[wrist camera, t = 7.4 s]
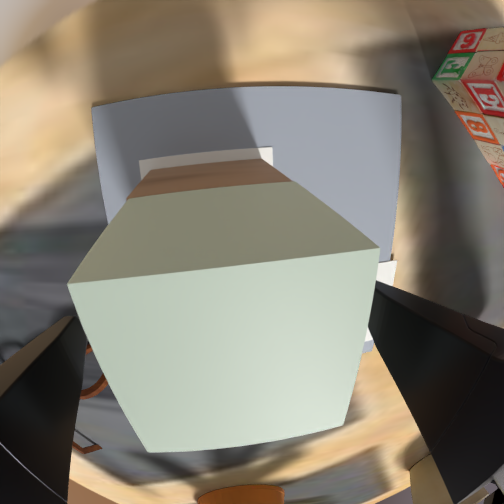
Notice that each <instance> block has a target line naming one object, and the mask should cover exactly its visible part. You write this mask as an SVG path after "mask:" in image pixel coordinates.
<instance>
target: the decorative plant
mask: <svg viewBox="0 0 504 504" xmlns="http://www.w3.org/2000/svg"><path fill="white" fill-rule="evenodd" d="M197 502H198V504H284V490H283V489H282V488H280V487H278V486H273V485H242V486H234V487H228V488H223V489H218V490H215V491H211V492H209V493H206V494H204V495H202V496H201V497H200V498H198V501H197Z"/></svg>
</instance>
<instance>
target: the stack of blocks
mask: <svg viewBox="0 0 504 504" xmlns="http://www.w3.org/2000/svg"><path fill="white" fill-rule="evenodd" d="M432 82H433V83H434V84H435V86H436V87H437V88H438V89H439V91H440V92H441V93H442V94H443V96H444V97H445V98H446V100H447V101H448V102H449V104H450V105H451V106H452V108H453V109H454V111H455V113H456V114H457V116H458V117H459V119H460V120H461V121H462V123H463V124H464V126H465V127H466V129H467V130H468V132H469V133H470V135H471V136H472V138H473V139H474V141H475V142H476V144H477V146H478V147H479V149H480V150H481V152H482V154H483V155H484V157H485V158H486V160H487V162H488V163H490V165H491V167H492V168H493V170H494V172H495V174H496V175H497V177H498V179H499V181H500V183H501V184H502V186H503V187H504V27H496V28H489V29H488V28H483V29H476V30H467V31H462V32H460V34H459V35H458V37H457V39H456V40H455V42H454V44H453V45H452V47H451V49H450V50H449V52H448V55H447V57H446V58H445V60H444V61H443V63H442V64H441V66H440V68H439V69H438V71H437V72H436V74H435V76H434V77H433V78H432Z"/></svg>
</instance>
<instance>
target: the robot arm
mask: <svg viewBox="0 0 504 504" xmlns="http://www.w3.org/2000/svg"><path fill="white" fill-rule="evenodd" d="M368 329H369V331H370V334H371V336H372V338H373V341H374V343H375V345H376V347H377V349H378V351H379V353H380V355H381V357H382V359H383V360H384V362H385V364H386V366H387V368H388V370H389V372H390V373H391V375H392V377H393V379H394V381H395V383H396V385H397V387H398V388H399V390H400V392H401V394H402V396H403V398H404V400H405V402H406V404H407V406H408V408H409V410H410V412H411V414H412V416H413V418H414V420H415V422H416V424H417V426H418V428H419V430H420V432H421V434H422V436H423V438H424V440H425V442H426V444H427V446H428V448H429V450H430V452H431V455H432V457H433V459H434V462H435V464H436V466H437V468H438V470H439V472H440V475H441V477H442V479H443V481H444V484H445V486H446V488H447V490H448V493H449V495H450V497H451V500H452V502H453V504H459V503H460V502H462V501H463V500H465V499H467V498H468V497H470V496H471V495H473V494H474V493H476V492H477V491H478V490H480V489H481V488H483V487H484V486H485V485H487V484H488V483H490V482H491V483H494V484H496V486H497V487H498V489H497V490H496V491H494V492H493V493H492V494H491V495H489V496H488V497H487V498H485V500H484V504H504V329H503V328H500V327H497V326H494V325H491V324H488V323H485V322H483V321H480V320H477V319H475V318H472V317H470V316H467V315H465V314H464V315H463V314H462V313H460V312H457V311H454V310H452V309H449V308H447V307H444V306H442V305H439V304H437V303H434V302H432V301H429V300H426V299H424V298H421V297H419V296H416V295H414V294H411V293H408V292H406V291H403V290H401V289H398V288H395V287H393V286H390V285H388V284H385V283H382V282H380V281H377V280H376V283H375V289H374V295H373V301H372V306H371V312H370V317H369V322H368ZM86 346H87V339H86V335H85V333H84V330H83V328H82V325H81V323H80V320H79V318H78V317H77V316H65V317H63V318H62V319H60V320H59V321H58V322H56V323H55V324H54V325H52V326H51V327H50V328H48V329H47V330H46V331H44V332H43V333H42V334H40V335H39V336H38V337H36V338H35V339H34V340H32V341H31V342H30V343H28V344H27V345H26V346H24V347H23V348H22V349H21V350H19V351H18V352H17V353H15V354H14V355H13V356H12V357H10V358H9V359H8V360H6V361H5V362H4V363H3V364H1V365H0V504H67V499H68V484H69V483H68V482H69V472H70V462H71V453H72V445H73V437H74V430H75V423H76V417H77V411H78V405H79V400H80V394H81V389H82V383H83V374H84V364H85V355H86Z"/></svg>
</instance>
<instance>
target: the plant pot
mask: <svg viewBox="0 0 504 504" xmlns="http://www.w3.org/2000/svg"><path fill="white" fill-rule="evenodd" d="M410 483H411V493H412V500H413V504H453V502H452V500H451V497H450V495H449V493H448V490H447V488H446V486H445V484H444V481H443V479H442V477H441V475H440V472H439V470H438V468H437V466H436V464H435V462H434V459H433V457H432V455H431V454H430V455H428V456H427V457H425V458H424V459H422V460H421V461H419V462H418V463H417V464H415V465H414V466H413V467H412V468H411V469H410ZM488 495H489V493H488V492H487V491H486V490H485V488H484V487H483V488H481V489H480V490H478V491H477V492H476V493H474V494H473V495H471V496H470V497H468V498H467V499H465V500H463V501H462V502H460V503H459V504H477V503H479V502H480V501H481V500H483V499H484V498H485V497H486V496H488Z"/></svg>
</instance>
